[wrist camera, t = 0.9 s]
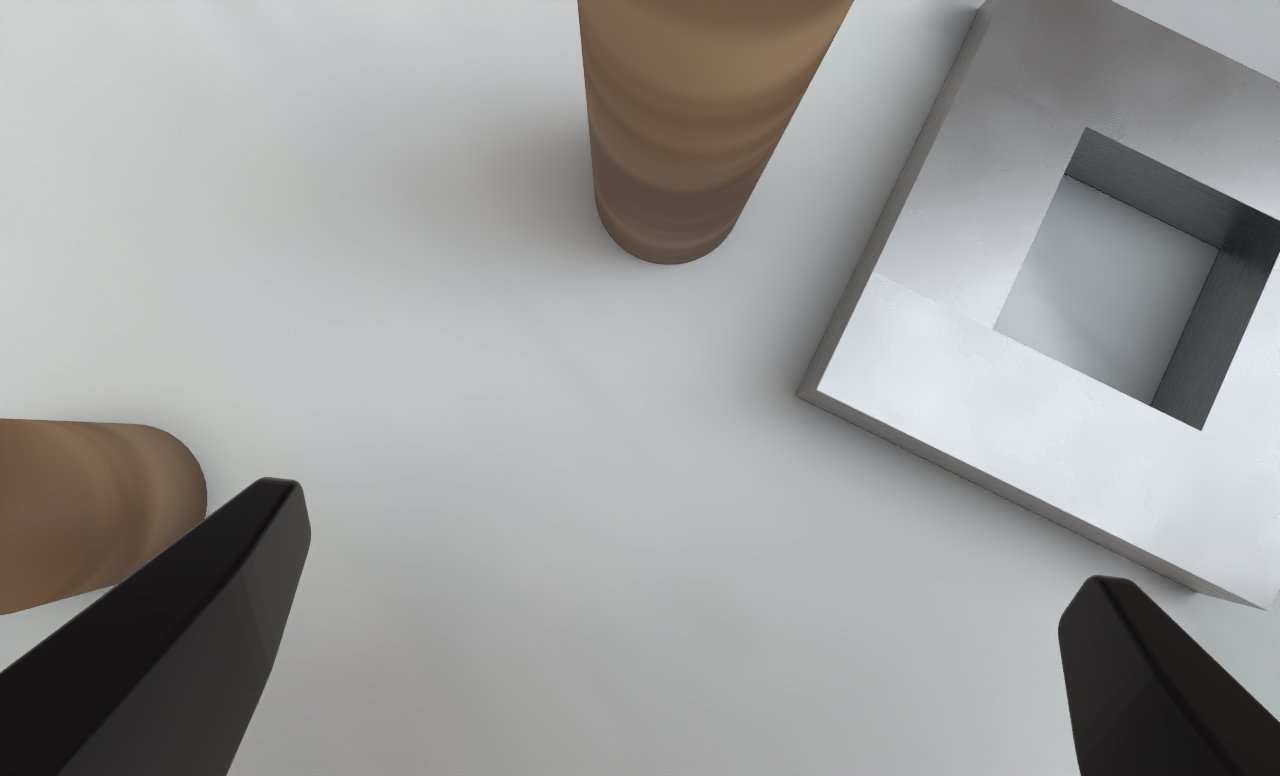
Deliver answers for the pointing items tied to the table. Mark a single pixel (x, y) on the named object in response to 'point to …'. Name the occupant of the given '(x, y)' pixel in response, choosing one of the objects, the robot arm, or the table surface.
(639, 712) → the table surface
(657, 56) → the tall pin
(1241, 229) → the hole collar
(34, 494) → the stub pin
